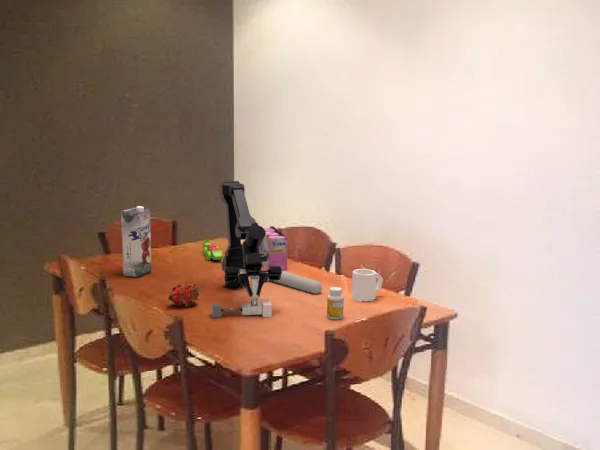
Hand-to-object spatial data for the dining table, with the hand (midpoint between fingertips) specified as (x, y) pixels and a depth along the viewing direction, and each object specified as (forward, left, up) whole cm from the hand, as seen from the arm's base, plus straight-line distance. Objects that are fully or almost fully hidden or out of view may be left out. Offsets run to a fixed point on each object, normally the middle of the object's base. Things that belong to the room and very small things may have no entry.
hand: (254, 296), depth 243 cm
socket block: (+2, +4, -7) cm, 8 cm away
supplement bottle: (+21, +16, -7) cm, 27 cm away
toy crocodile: (-62, +49, -7) cm, 79 cm away
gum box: (-36, +57, -7) cm, 68 cm away
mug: (+19, +41, -7) cm, 46 cm away
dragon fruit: (-26, -6, -7) cm, 27 cm away
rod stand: (-6, -4, -7) cm, 10 cm away
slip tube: (-1, +1, -6) cm, 6 cm away
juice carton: (-67, +11, -7) cm, 68 cm away
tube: (-9, +36, -7) cm, 37 cm away
